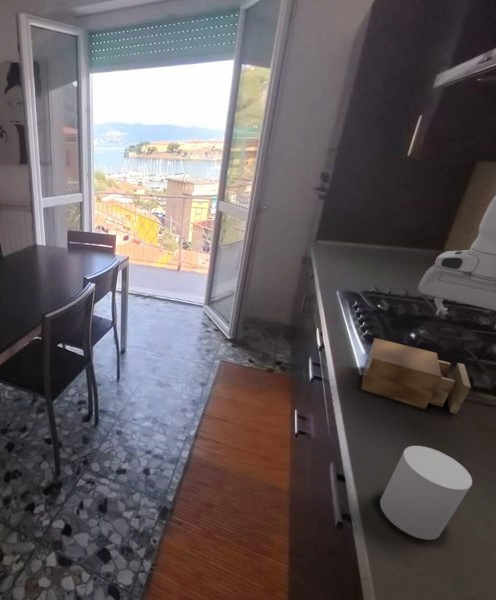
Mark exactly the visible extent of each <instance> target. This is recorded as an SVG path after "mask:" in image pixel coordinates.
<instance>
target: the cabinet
mask: <svg viewBox="0 0 496 600" xmlns="http://www.w3.org/2000/svg"><path fill="white" fill-rule="evenodd" d="M438 360H439V357H438V353H437V352H434V351H429V350H426V349H422V348H418V347H414V346H409V345H406V344H401V343H397V342H393V341H389V340H386V339H385V340H384V339H381V338H378V337H377V338H376V337H374V338H373V341H372V344H371V346H370V350H369V352H368V355H367V357H366V359H365V363H364V366H363V372H362V382H361V388H360V389H361V390H363V391H366V392H368V393H372V394H375V395H379V396H382V397H385V398H388V399H392V400H395V401H397V402H401V403H404V404H407V405H410V406H414V407H417V408H420V409H422V410H423V409H424V410H426V409H427V407H428V405H429V404H430V403H429V401H430V399H431V397H432V395H433V393H434V391H435V389H436V387H437V385H438V383H439V381H440V379H441V372H440V367H439V362H438Z"/></svg>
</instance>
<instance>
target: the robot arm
mask: <svg viewBox="0 0 496 600" xmlns="http://www.w3.org/2000/svg"><path fill="white" fill-rule="evenodd" d="M417 290H418V292H419V293H420V294H423V295H427V296H431V297H434V300H433V301H434V304H435V306H436V312H435V316H438V317H442V318H444V317H445V316H446V314H447V312H448V310H449V308H448V307H445V306H444V304H443V302H444V301H445V300H449V301H453V302H457V303H462V304H466V305H470V306H474V307H478V308H483V309H486V310H487V309H488V310H491V311H495V312H496V194H495V195H494V196H493V198H492V199H491V201H490V202H489V204H488V206H487V208H486V210H485V212H484V214H483V216H482V218H481V220H480V223H479V226H478V234H477V236H476V238H475V240H474V241H472V243H471V245H470V247H469V249H463V250H448V251H444V252H442V253H439V255H438V256H436V258H435V261H434V264H432V266H430V267H429V268H428V269H427V270H426V271H425V272H424V275H423V276H422V278H421V280H420V281H419V284H418V286H417ZM492 331H495V332H496V323H495V324H494V326H493V329H492Z"/></svg>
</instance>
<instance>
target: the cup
mask: <svg viewBox="0 0 496 600" xmlns="http://www.w3.org/2000/svg"><path fill="white" fill-rule="evenodd" d="M472 485H473V478H472V476H471V474H470V473H469V471H468V470H467V469H466V468H465V467H464V466H463V465H462V464H460V463H459V461H458V460H455V459H454V458H453V457H451V456H449V455H447V454H446V453H444V452H441V451H439V450H437V449H435V448H432V447H427V446H422V445H409V446H407V447H406V448H405V449H403V452H402V454H401V457H400V459H399V461H398V462H397V465H396V467H395V469H394V470H393V473H392V475H391V477H390V479H389V481H388V483H387V485H386V487H385V489H384V492H383V493H382V495H381V497H380V501H379V505H380V508H381V511H382V513H383V514H384V516H385V517H386V518H387V519H388V520H389V522H391V523H392V524H393V525H394V526H395V527H397V528H398V529H399V530H401V531H403V532H404V533H406V534H408V535H409V536H412V537H414V538H416V539H420V540H427V541H432V540H436V539H438V538H439V537H440V536H441V534H442V533H443V531H444V529H445V527H446V526H447V525H448V523H449V521H450V520H451V518H452V516H453V515H454V513H455V512H456V510H457V509H458V507H459V506H460V504H461V503H462V501H463V499H464V497H465V496H466V495H467V493H468V491H469V489H471V487H472Z"/></svg>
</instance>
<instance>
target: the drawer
mask: <svg viewBox="0 0 496 600" xmlns="http://www.w3.org/2000/svg"><path fill="white" fill-rule="evenodd" d="M438 362H439V367H440V372H441V379H440V381H439V383H438V385H437V387H436V389H435V391H434V393H433V395H432V397H431V399H430V401H429V403H428V404H431V405H434V406H438V407H441V408H442V407H443V406H444V405H445V402H447V405H448V410H449V413H452V414H455V415H457V414H458V412H459V411H460V408H461V407H462V405H463V403H464V401H465V400H466V398H467V396H468V395H469V392H470V390H471V388H472V385H471V382H470V379H469V376H468V372H467V369H466V366H465V364H464V363H461V362H457V363H456V365H455V367H454V369H453V370H452V373H451V375H450V377H449V378H448V377H446V375H447V373H448V371H449V369H450V367H451V365H452V363H451V362H448V361H444V360H440V359H438ZM446 400H447V401H446Z"/></svg>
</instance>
